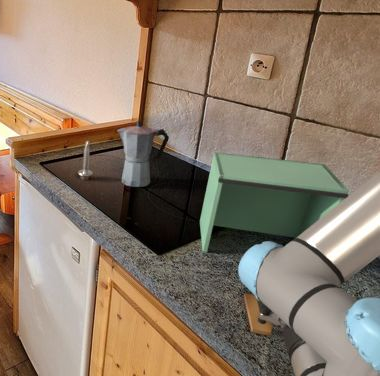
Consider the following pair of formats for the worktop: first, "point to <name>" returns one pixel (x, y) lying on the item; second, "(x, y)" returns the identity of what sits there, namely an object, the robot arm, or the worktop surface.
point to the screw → (85, 164)
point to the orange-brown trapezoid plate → (256, 316)
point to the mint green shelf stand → (267, 195)
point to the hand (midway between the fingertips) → (283, 263)
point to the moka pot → (139, 153)
